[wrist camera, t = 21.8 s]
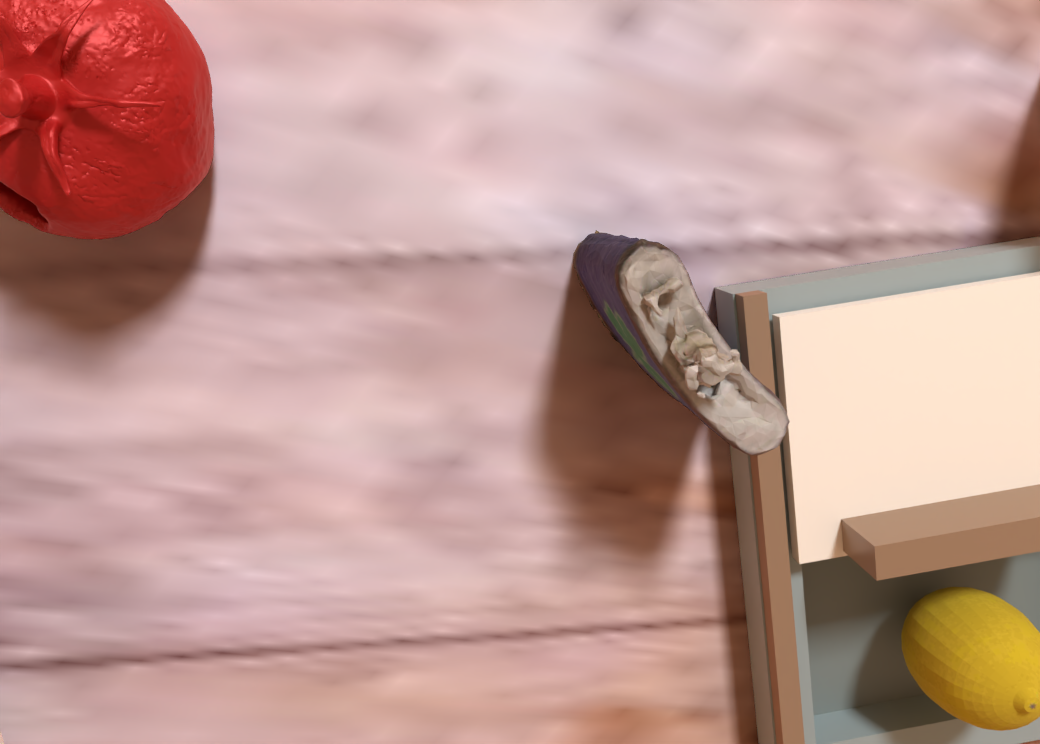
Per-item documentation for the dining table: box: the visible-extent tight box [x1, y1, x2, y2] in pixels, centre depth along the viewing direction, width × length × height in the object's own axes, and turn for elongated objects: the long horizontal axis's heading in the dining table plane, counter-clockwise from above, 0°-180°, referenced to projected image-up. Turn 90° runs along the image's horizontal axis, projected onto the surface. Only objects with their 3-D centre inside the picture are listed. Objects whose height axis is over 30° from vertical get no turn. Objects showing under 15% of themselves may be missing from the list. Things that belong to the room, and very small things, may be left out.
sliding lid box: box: [714, 236, 1040, 744], centre depth 41 cm, size 18×24×4 cm
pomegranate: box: [0, 0, 214, 239], centre depth 31 cm, size 10×10×9 cm
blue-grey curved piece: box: [573, 231, 790, 456], centre depth 34 cm, size 9×3×11 cm, turn 38°
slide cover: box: [772, 272, 1040, 581], centre depth 37 cm, size 15×11×4 cm
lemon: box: [901, 587, 1040, 731], centre depth 39 cm, size 6×6×8 cm
